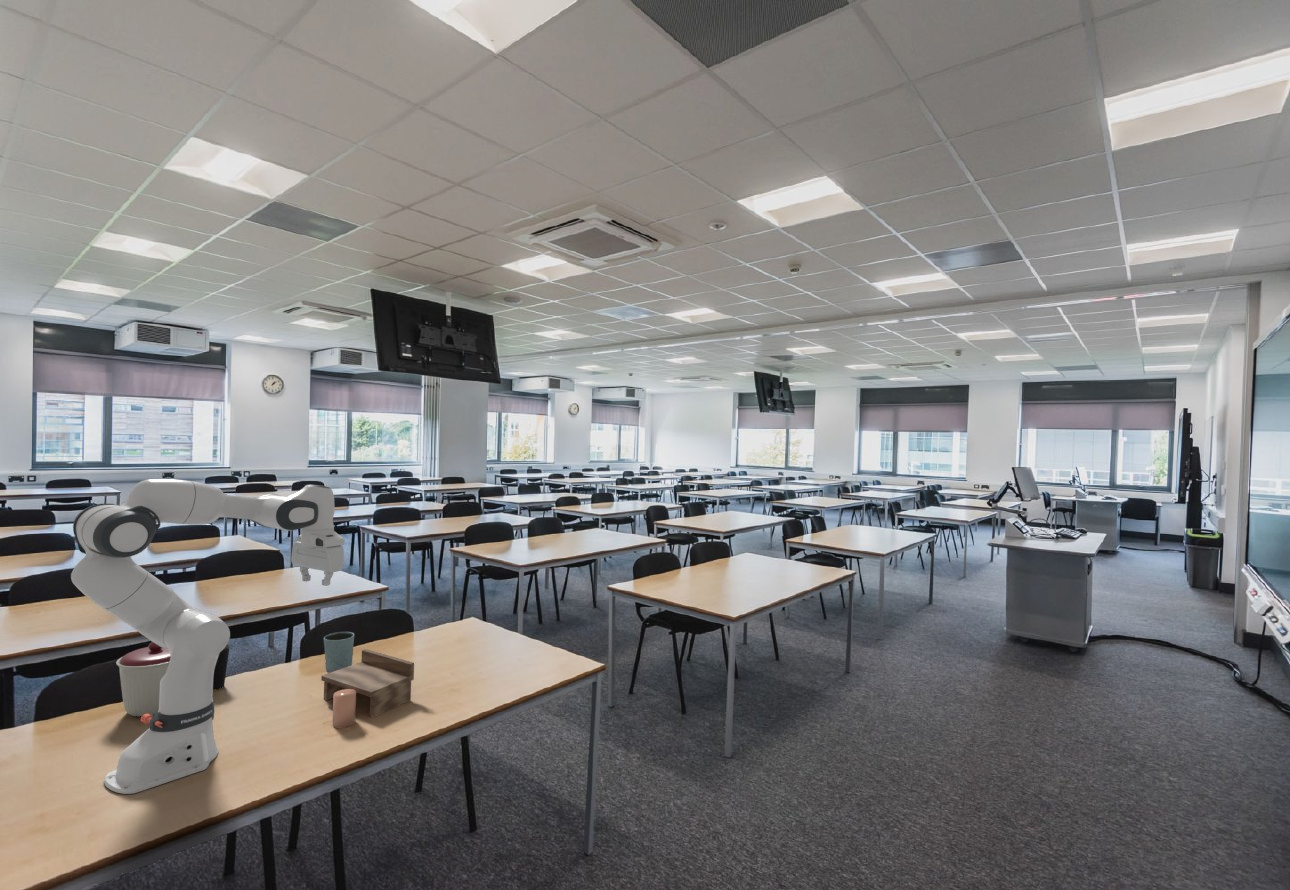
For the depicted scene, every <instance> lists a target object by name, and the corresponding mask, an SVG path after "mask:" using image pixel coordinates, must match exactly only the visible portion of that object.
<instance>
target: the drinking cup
mask: <svg viewBox="0 0 1290 890" xmlns="http://www.w3.org/2000/svg"><path fill="white" fill-rule="evenodd" d="M230 648H231V644H230V643H229V642H228V643H227V645H226V646H225V648H224V649H223V650H222V651H221V652H220V653H219V656H218V659H217V662H216V665H215V669H214V676H213V691H217V690H220V689H223V688H224V687H225V682H226V676H227V669H228V668H227V667H228V661H229V653H230Z"/></svg>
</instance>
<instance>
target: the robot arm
mask: <svg viewBox="0 0 1290 890" xmlns="http://www.w3.org/2000/svg"><path fill="white" fill-rule="evenodd" d="M334 494H335V493H334V490H332V488H331V487H329V486H327V485H326V486H325V485H318V484H306V485H304V487H302V488H301V489H300V490H298V491H297V492H294V493H292V494H290V495H287V496H284V495H280V494H275V493H268V494H264V495H260V496H256V497H247V496H238V495H231V494H226V493H224V492H223V490H222V489H221V488H220V487H217V486H215V485H214V486H213V485H211V484H207V483H203V482H199V481H193V480H192V481H191V480H185V479H175V478H174V479H173V478H152V479H150V478H149V479H148V478H147V479H144V480H141V481H139V482H138V483H136V484H135V485H134V487H132V489H131V491H130V493H129V495H128V498H127V499H126V501H125V502H124V503H122V504H120V505H117V504H113V503H99V504H98V503H97V504H93V505H90V506H88V507H86V508H84V509H83V510H81V511H80V512H79V513H77V516H75V518H74V520H73V524H72V527H73V528H72V530H73V535H74V538H75V542H76V543H77V547H78V551H79V552H80V553H81V554H85V556H84V557H83V558H82V559H81V560H80V561H79V562H78V563H77V564H76V565H75V566H74V568H73V570H72V572H71V573H70V579H71V582H72V584H73V585H74V586H75V587H76V588H77V589H78V591H80V592H81V593H82V594H83V595H84V596H85V597H87V598H88V599H89V600H90V601H91V602H93V603H94V604H96V605H97V606H98V607H100V608H101V609H103V610H104V611H106V612H108V613H110V614H111V615H113V616H114V617H116V618H117V619H118V620H120V621H122V622H124V623H125V624H127V625H128V626H130V627H131V628H133V629H135V630H136V631H137V632H139V634H141V635H142V636H144V638H146V639H148V640H149V641H151V642H154V643H155V644H157V645H158V646H160V647H162V648H164V649H167V650H169V651H170V662H169V666H168V669H167V672H166V674H165V675H164V676H163V677H162V678H161V680H160V693H159V709H158V711H157V712H156V714H155V715H150V714H144V715H143V717H140V722H141V723H143V724H145V725H146V724H149V728H147V730H146V731H144V732H143V733H142V734H140V735H139V736H138V737H137V738H136V739H135V740H134V741H133V742H131V743H130V744H129V745H128V746H127V747H126V748H124V749H123V750H122V751H121V754H120V755H119V758H118V762H117V765H116V769H113V770H112V771H111V770H110V772H108V773H106V774H105V776H104V781H103V783H104V785H105V787H106V788H107V789H109V790H111V791H112V792H114V793H119V794H125V795H127V794H128V795H129V794H130V795H132V794H136V793H140V792H143V791H146V790H148V789H151V788H154V787H157V786H158V787H159V786H160V785H163V784H166V783H169V782H172V781H175V780H179V779H181V778H184V777H187V776H190V775H192V774H193V775H194V774H196V773H200V772H202V771H205V770H206V769H208V768H209V766H210V763H211V762H212V761H213V760H214V759H215V758H217V756H218V754H219V748H218V746H217V744H216V739H215V734H214V723H213V720H214V718H215V700H214V698H213V695H214V694H213V693H214V692H213V691H214V690H213V676H214V669H215V665H216V662H217V659H218V656H219V653H220V652H221V651H222V650H223V649H224V648H225V646H226V645H227V643H228V644H229V640H230V638H231V631H230V628H229V626H228V625H227V624H226V622H225V621H223V620H222V619H221V617H219V616H217V615H215V614H212V613H209V612H206V611H203V610H200V609H198V608H196V607H193V606H192V605H190V604H189V603H188V602H187V601H185V600H184V599H182V598H181V597H180V596H179V595H178V594H177V593H176V592H175V590H174V589H173V588H172V587H170V586H169V585H167V584H166V583H164V582H163V581H162V580H160V579H159V578H157V577H156V576H155V575H153V574H152V573H151V572H149V571H148V570H146V569H145V568H144V567H142V566H140V565H139V564H137V563H136V561H134V560H133V558H132V557H133V556H136V555H139V554H140V553H142V552H144V551H145V550H146V549H147V548H148V547H149V546H150V544H151V543H152V541H153V539H154V537H155V535H156V533H157V531H158V529H160V527H161V523H162V524H165V523H167V524H176V525H177V524H178V525H189V526H190V525H191V526H192V525H208V524H212V523H214V522H215V521H217V520H218V519H219V518H230V519H231V518H232V519H242V520H247V521H248V520H249V521H250V522H251V521H252V522H253V523H255V524H257V526H260V527H264V528H270V529H272V528H273V529H276V530H277V529H278V530H282V531H289V532H290V531H295V530H300V535H298V536H296V538H295V540H294V543H293V545H292V550H291V557H290V558H291V560H290V561H291V564H292V565H293V566H297V567H299V572H300V574H301V581H302V582H306V583H307V582H310V581H311V578H312V577H311V574H310V573H309V572H310V571H309V569H311V570H312V569H313V570H317V571H320V572H321V571H322V572H323V574H324V578H323V579H321V586H330V585H331V580H332V577H333V575H334V573H338V572H341V571H342V570H343V568H344V566H345V565H344V564H345V563H344V562H345V560H344V559H345V551H344V547H343V546H344V545H345V538H344V537H343V536H342V535H340V534H339V533H337V532H336V531H335V526H334V525H335V524H334V516H335V495H334Z"/></svg>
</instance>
